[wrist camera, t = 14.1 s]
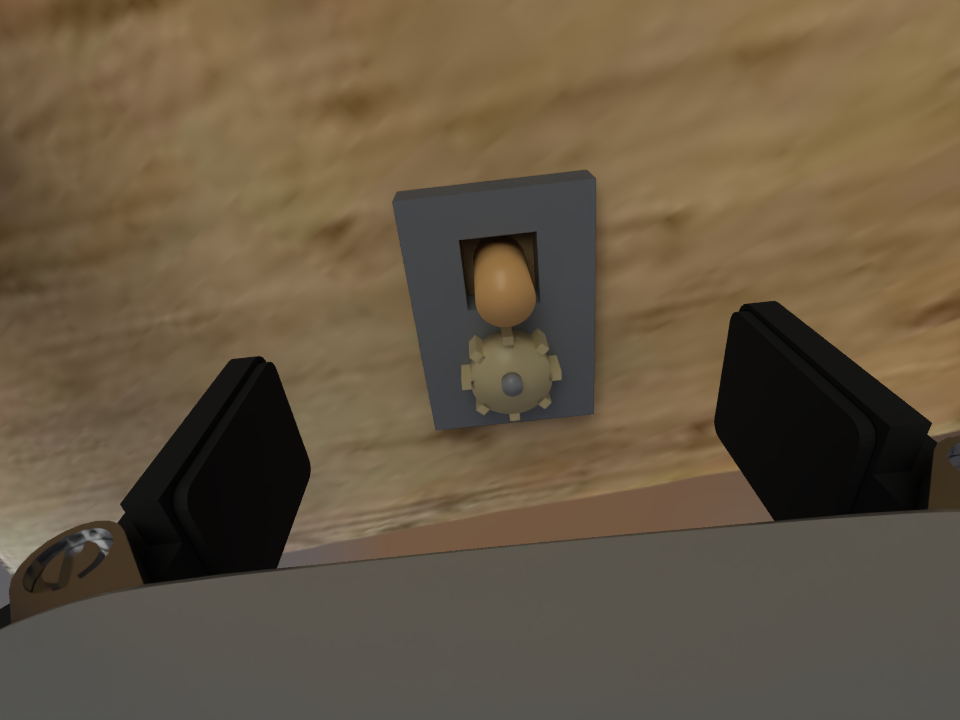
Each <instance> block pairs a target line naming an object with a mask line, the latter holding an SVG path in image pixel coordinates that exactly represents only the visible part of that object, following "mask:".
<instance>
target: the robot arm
mask: <svg viewBox="0 0 960 720" xmlns="http://www.w3.org/2000/svg"><path fill="white" fill-rule="evenodd" d="M714 424H715V430H716V433H717V435H718V437H719V439H720V440H721V442H722V443H723V445H724V446H725V448H726V449H727V451H728V452H729V454H730V455H731V457H732V458H733V460H734V461H735V463H736V464H737V466H738V467H739V469H740V470H741V472H742V473H743V475H744V476H745V477H746V479H747V481H748V482H749V484H750V485H751V487H752V488H753V490H754V491H755V493H756V494H757V496H758V497H759V498H760V500H761V502H762V503H763V505H764V506H765V507H766V509H767V510H768V512H769V513H770V515H771V516H772V518H773V519H774V521H769V522H758V523H747V524H735V525H724V526H713V527H702V528H691V529H680V530H669V531H658V532H646V533H635V534H624V535H614V536H603V537H592V538H582V539H572V540H561V541H550V542H540V543H529V544H519V545H509V546H498V547H488V548H477V549H467V550H456V551H446V552H436V553H426V554H416V555H406V556H397V557H387V558H377V559H367V560H357V561H348V562H338V563H328V564H318V565H308V566H298V567H288V568H278V569H277V566H278V564H279V561H280V558H281V556H282V553H283V550H284V547H285V544H286V542H287V539H288V536H289V533H290V531H291V528H292V525H293V522H294V520H295V517H296V514H297V511H298V509H299V506H300V503H301V500H302V497H303V495H304V492H305V489H306V486H307V484H308V481H309V478H310V472H311V467H310V461H309V458H308V455H307V452H306V450H305V447H304V444H303V441H302V438H301V436H300V433H299V430H298V427H297V425H296V422H295V419H294V416H293V414H292V411H291V408H290V405H289V402H288V400H287V397H286V394H285V391H284V389H283V386H282V383H281V380H280V378H279V375H278V372H277V369H276V367H275V365H274V364H273V363H272V362H266V361H265V359H264V358H263V357H261V356H257V357H247V358H238V359H231V360H230V361H229V362H228V363H227V365H226V366H225V367H224V369H223V370H222V371H221V372H220V374H219V375H218V376H217V378H216V379H215V380H214V382H213V383H212V384H211V386H210V387H209V388H208V390H207V391H206V392H205V393H204V395H203V396H202V397H201V399H200V400H199V401H198V403H197V404H196V405H195V407H194V408H193V409H192V410H191V412H190V413H189V414H188V416H187V417H186V418H185V420H184V421H183V422H182V424H181V425H180V426H179V428H178V429H177V430H176V431H175V433H174V434H173V435H172V437H171V438H170V439H169V441H168V442H167V443H166V445H165V446H164V447H163V449H162V450H161V451H160V452H159V454H158V455H157V456H156V458H155V459H154V460H153V462H152V463H151V464H150V466H149V467H148V468H147V469H146V471H145V472H144V473H143V475H142V476H141V477H140V479H139V480H138V481H137V483H136V484H135V485H134V487H133V488H132V489H131V490H130V492H129V493H128V494H127V496H126V497H125V498H124V500H123V501H122V502H121V504H120V505H121V506H122V508H123V510H124V511H125V514H124V515H123V516H122V518H121V519H120V520H119V522H118V523H115V522H112V521H94V522H90V523H86V524H82V525H79V526H77V527H74V528H72V529H70V530H67V531H65V532H63V533H61V534H59V535H58V536H56V537H54V538H52V539H51V540H49V541H47V542H46V543H45V544H43V545H42V546H41V547H39V548H38V549H37V550H35V551H34V552H33V553H32V554H31V555H30V556H29V557H28V558H27V559H26V560H25V561H24V562H23V563H22V564H21V565H20V566H19V568H18V569H17V571H16V572H15V574H14V576H13V577H12V579H11V583H10V588H9V599H10V604H8V605H6V606H5V607H3V608H1V609H0V720H960V436H955V437H948V438H946V439H944V440H942V441H940V442H938V443H937V442H936V441H935V440H933V439H932V438H931V437H930V436H928V435H927V434H928V431H929V429H930V427H931V424H932V423H931V422H930V421H929V420H928V419H926V418H925V417H924V416H923V415H921V414H920V413H919V412H917V411H916V410H915V409H914V408H912V407H911V406H910V405H908V404H907V403H906V402H905V401H903V400H902V399H901V398H900V397H898V396H897V395H896V394H894V393H893V392H892V391H891V390H889V389H888V388H887V387H885V386H884V385H883V384H882V383H880V382H879V381H878V380H877V379H875V378H874V377H873V376H871V375H870V374H869V373H868V372H866V371H865V370H864V369H862V368H861V367H860V366H859V365H857V364H856V363H855V362H854V361H852V360H851V359H850V358H848V357H847V356H846V355H845V354H843V353H842V352H841V351H839V350H838V349H837V348H836V347H834V346H833V345H832V344H831V343H829V342H828V341H827V340H825V339H824V338H823V337H822V336H820V335H819V334H818V333H817V332H815V331H814V330H813V329H811V328H810V327H809V326H808V325H806V324H805V323H804V322H802V321H801V320H800V319H799V318H797V317H796V316H795V315H794V314H792V313H791V312H790V311H788V310H787V309H786V308H785V307H783V306H782V305H781V304H779V303H778V302H776V301H768V302H759V303H750V304H744V305H742V306H741V308H740V310H739V312H734V313H733V314H732V316H731V319H730V324H729V330H728V337H727V343H726V349H725V356H724V362H723V368H722V375H721V381H720V387H719V394H718V400H717V406H716V413H715V420H714Z"/></svg>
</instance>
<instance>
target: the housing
mask: <svg viewBox="0 0 960 720" xmlns="http://www.w3.org/2000/svg"><path fill="white" fill-rule="evenodd" d="M392 204H393V209H394V214H395V219H396V225H397V230H398V235H399V240H400V246H401V251H402V256H403V262H404V267H405V272H406V277H407V283H408V288H409V293H410V298H411V304H412V309H413V314H414V320H415V325H416V330H417V335H418V341H419V346H420V351H421V356H422V362H423V367H424V372H425V378H426V383H427V388H428V393H429V399H430V404H431V409H432V414H433V420H434V425H435V430H444V429H453V428H463V427H473V426H483V425H493V424H502V423H512V422H522V421H532V420H541V419H551V418H561V417H571V416H581V415H590V414H594V348H595V236H596V178H595V177H594V176H593V175H592V174H591V173H590V172H589V171H588V170H581V171H572V172H563V173H555V174H546V175H537V176H529V177H520V178H511V179H503V180H494V181H486V182H477V183H468V184H460V185H451V186H442V187H434V188H425V189H416V190H408V191H399V192H397V193H396V195H395V197H394V199H393V201H392ZM527 232H533V251H534V269H535V288H534V290H535V294H536V303H535V307H534V309H533V311H532V313H531V314H530V316H529V317H528V318H527V319H526V320H525V321H523V322H522V323H520V324H518V325H515V326H512V327H497V326H494V325H491V324H489V323H488V322H486V321H485V320H484V319H483V318H482V317H481V316H480V314H479V313H478V311H477V308H476V303H475V294H474V295H467V287H466V279H465V271H464V264H463V256H462V248H461V240H465V239H474V238H482V237H491V236H500V235H509V234H518V233H527Z"/></svg>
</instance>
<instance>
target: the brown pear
mask: <svg viewBox="0 0 960 720" xmlns="http://www.w3.org/2000/svg"><path fill="white" fill-rule="evenodd" d="M473 265H474V284H475V303H476V308H477V311H478V313H479V314H480V316H481V317H482V318H483V319H484V320H485V321H486V322H488V323H489V324H491V325H494V326H497V327H512V326H515V325H518V324H520V323H522V322H523V321H525V320H526V319H527V318H528V317H529V316H530V314H531V313H532V311H533V309H534V307H535V303H536V294H535V290H534V287H533V283H532V280H531V277H530V274H529V270H528V267H527V264H526V261H525V257H524V254H523V251H522V248H521V246H520V245H519V243H518V242H517V241H516V240H515V239H513V238H512V237H510V236H507V235H500V236H491V237H486V238H485V239H483V240H482V241H481V242H480V243H479V244H478V245H477V247H476V249H475V251H474V255H473Z"/></svg>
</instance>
